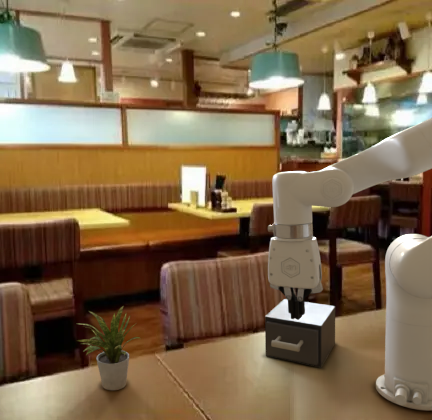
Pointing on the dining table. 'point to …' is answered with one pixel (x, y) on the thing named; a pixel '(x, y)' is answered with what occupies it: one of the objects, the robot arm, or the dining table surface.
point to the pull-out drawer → (292, 342)
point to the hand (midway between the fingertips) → (296, 317)
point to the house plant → (110, 352)
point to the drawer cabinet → (309, 325)
